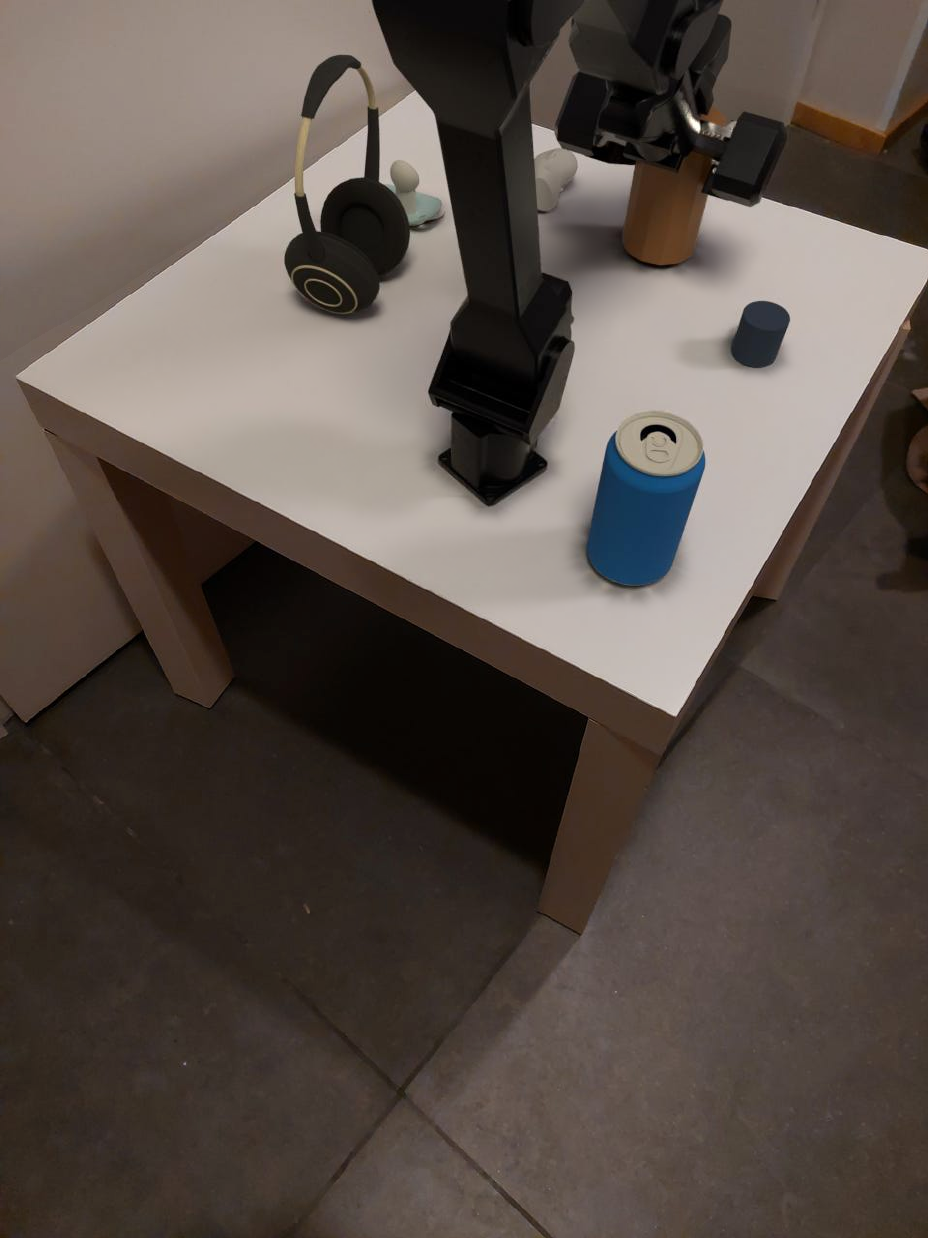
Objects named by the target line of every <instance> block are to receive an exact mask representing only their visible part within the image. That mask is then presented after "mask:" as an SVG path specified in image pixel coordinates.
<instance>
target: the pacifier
mask: <svg viewBox="0 0 928 1238" xmlns="http://www.w3.org/2000/svg"><path fill="white" fill-rule="evenodd" d="M389 174H390V175H389V176H390V179H391V182H392V183H393V184H387V183H386V184H384V185H385V186H387V187H388V188H389V189H390V190H391V191H393V192H394V194H395V195H396V196H397V197H398V199H399V200H400V201H401V203H402V205H403V207H404V209H405V211H406V214H407V217H408V221H409V226H410V227H415V226H420V225H422V224H424V223H425V222H426V221H433V220H436V219H440V218H441V217H442V216H443V215H444V214H445V212H446V211H445V206H444V204H442V203H443V202H442V200H441V199H440V198H439V197H435V196H432V195H429V194H426V193H422V192H419V191H416V189H418V187H419V185H420V176H419V174H418V172H417V170H416V169H415V167H413V165H412V164H410V163H409V162H408V161H405V160H402V159H397V160H394V161H393V162H392V164H391V165H390V168H389Z"/></svg>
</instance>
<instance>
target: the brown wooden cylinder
mask: <svg viewBox="0 0 928 1238" xmlns="http://www.w3.org/2000/svg"><path fill="white" fill-rule="evenodd" d="M700 119H701V120H705V121H708V122H711V123H715V124H718V125H722V126H727V124H726V119H725V117H724V115H723V113H721V111H719V109H717V108H715V107H714V106H713V105H712V106H711V109H710V111H709V113H708V115H703V114H702V115H701V118H700ZM700 134H703V131H702V132H701V133H700ZM705 135H707V133H706V134H705ZM710 137H712V134H711V135H710ZM714 138H716V135H715V137H714ZM719 139H720V140H721V137H719ZM712 159H713V158H712V157H708V156H705V155H702V154H698V153H695V152H692V151H691V153H690V154H689V155H688V156H687V157H686V158H684V159H683V161H682V164H681V166H680V168H679V171H678V173H675V172H671V171H668V170H665V169H662V168H658V167H655V166H652V165H649V164H645V163H642V162H639V161H636V163H635V165H634V169H633V175H632V181H631V185H630V191H629V197H628V202H627V208H626V213H625V219H624V225H623V231H622V236H621V243H622V245H623V248H624V249H625V251H626V253H628V254H629V255H631V256H632V257H634V258H635V259H637V260H638V261H640V262H644V263H647V264H652V265H658V266H667V265H675V264H677V265H678V264H681V263H682V262H684V261H685V260H687V259H689V258H691V257H692V256H693V254H694V250H695V248H696V245H697V241H698V236H699V233H700V229H701V225H702V221H703V217H704V214H705V209H706V206H707V201H708V198H709V195H707V194H704V193H701V191H702V188H703V186H704V183H705V181H706V179H707V176H708V174H709V171H710V169H711V167H712V164H711V161H712Z"/></svg>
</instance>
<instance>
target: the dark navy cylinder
mask: <svg viewBox="0 0 928 1238" xmlns="http://www.w3.org/2000/svg"><path fill="white" fill-rule="evenodd" d="M790 322H791V316H790V313H789V312H788V310H787V309H786V308H785V307H783V306H782V305H780V304H778V303H776V302H773V301H769V300H756V301H752V302H749V303H748V304H746V305H745V307H743V310H742V313H741V316H740V319H739V323H738V326H737V328H736V331H735V335H734V338H733V341H732V344H731V346H730V347H731V348H730V352H731V355H732V356H733V359H735V360H736V361H737V362H738V363H740V364H742V365H743V366H746V367H750V368H765V367H768V366H771V365H772V364H773V363H774V362H775V360H776V359H777V358H778V357H777V356H778V353H779V351H780V349H781V347H782V344H783V341H784V338H785V335H786V333H787V329H788V328H789V325H790Z"/></svg>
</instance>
